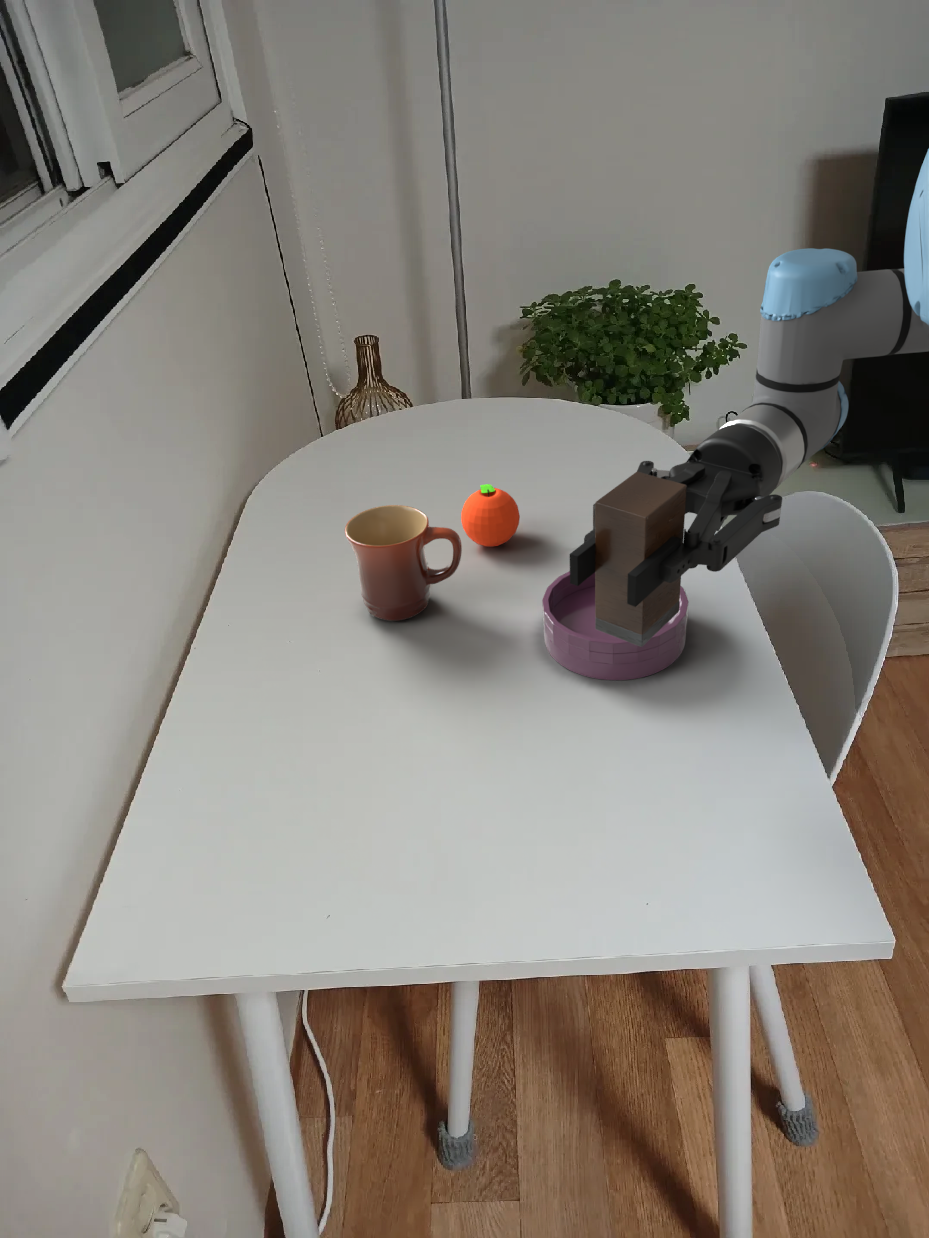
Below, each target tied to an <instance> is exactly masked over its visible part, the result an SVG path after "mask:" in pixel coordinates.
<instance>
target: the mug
mask: <svg viewBox="0 0 929 1238" xmlns="http://www.w3.org/2000/svg"><path fill="white" fill-rule="evenodd" d="M429 522H430V521H429V516H427V515H426V514H425V513H424V512H423V511H422V510H419V509H418V508H415V507H414V506H413V507H412V506H408V505H403V504H401V505H400V504H389V505H380V506H376V507H372V508H369V509H366V510H362V511H361V512H359V513H357V514H356V515H354V516H353V517H351V518H350V519H349V520H348V521H347V523H346V524H345V527H344V536H345V538H346V539H347V541H348V543H349V545H350V546H351V549H352V550H353V553H354V555H355V559H356V563H357V571H358V578H359V585H360V594H361V598H362V601H363V604H364V605H365V608H366V610H367V611H368V613H369V614H370V615H371V616H373V617H375V618H378V619H379V620H382V621H387V622H400V621H405V620H408V619H412V618H413V617H415V616H417V615H419V614H420V613H422V612H423V611H424V610H425V609H426V608H427V607H428V604H429V601H430V595H431V585H435V584H438V583H441V582H443V581H445V580H447V579H449V578H451V577H452V576H453V575H454V574H455V573H456V572H457V570H458V568H459V566H460V563H461V560H462V553H463V552H462V551H463V549H462V548H463V546H462V540H461V537H460V535H459V534H458V533H457V531H456V530H454V529H452V528H449V527H445V526H444V527H442V526H441V527H439V526H430V524H429ZM442 539H443V540H447V541H449V542H451V545H452V559H451V561H450V562H449V564H448V565H446V566H445V567H442V568H437V569H435V568H430V567H429V565H428V561H427V558H426V557H427V556H426V550H425V549H426V547H425V546H426V545H428V544H429V543H431V542H433V541H435V540H442Z"/></svg>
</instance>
